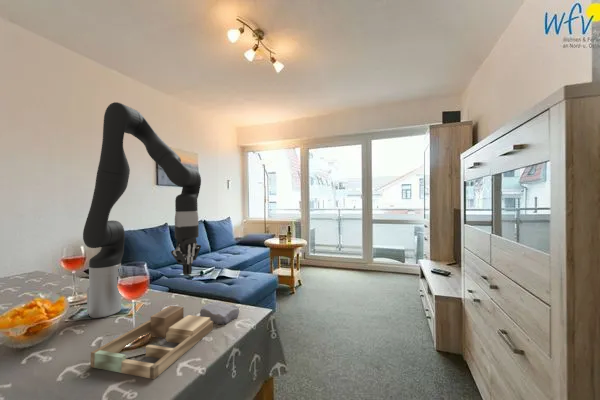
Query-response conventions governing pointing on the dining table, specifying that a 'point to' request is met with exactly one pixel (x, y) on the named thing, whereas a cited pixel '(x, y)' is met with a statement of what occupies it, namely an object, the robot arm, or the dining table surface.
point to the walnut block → (165, 320)
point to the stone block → (219, 312)
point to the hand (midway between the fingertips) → (187, 274)
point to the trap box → (152, 348)
